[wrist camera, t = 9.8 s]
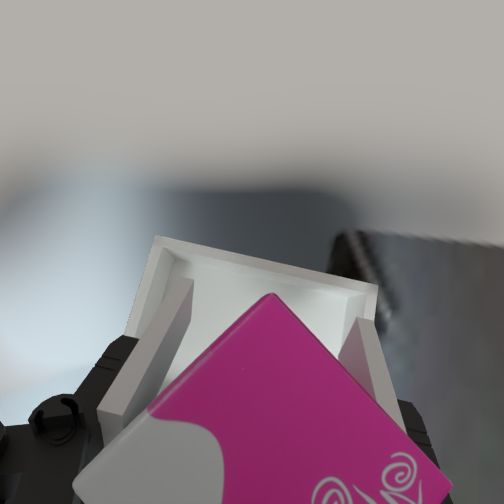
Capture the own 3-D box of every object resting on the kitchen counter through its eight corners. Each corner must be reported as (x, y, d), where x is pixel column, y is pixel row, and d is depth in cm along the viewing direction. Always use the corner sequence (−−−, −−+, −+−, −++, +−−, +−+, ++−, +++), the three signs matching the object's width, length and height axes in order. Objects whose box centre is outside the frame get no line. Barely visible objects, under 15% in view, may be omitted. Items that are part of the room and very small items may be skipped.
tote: (116, 430, 24) (84, 457, 19) (170, 250, 28) (155, 234, 23) (327, 482, 24) (349, 522, 19) (354, 292, 27) (378, 285, 23)
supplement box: (249, 462, 16) (258, 778, 5) (178, 377, 17) (48, 477, 6) (322, 383, 17) (469, 491, 6) (252, 306, 18) (262, 276, 7)
